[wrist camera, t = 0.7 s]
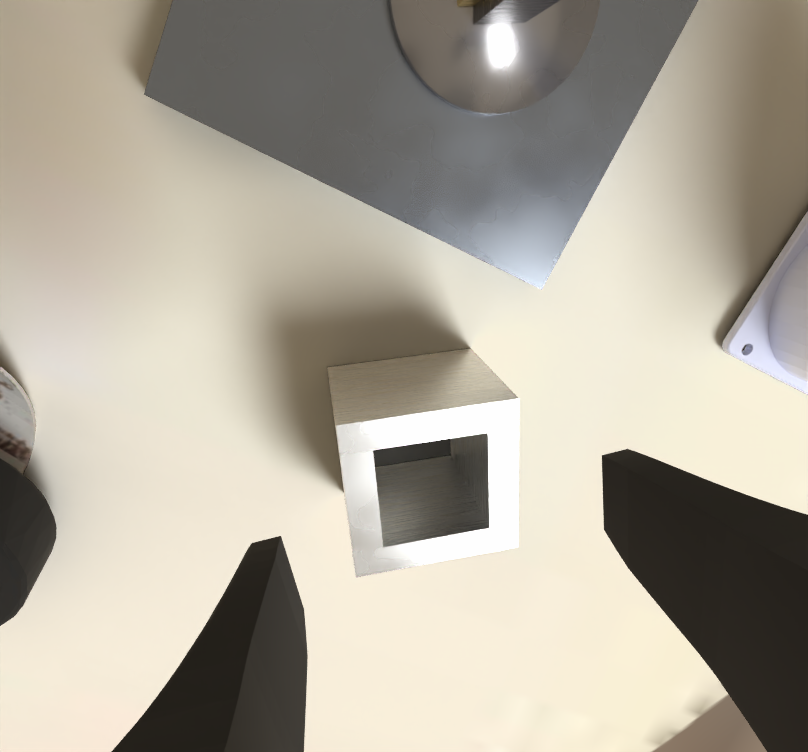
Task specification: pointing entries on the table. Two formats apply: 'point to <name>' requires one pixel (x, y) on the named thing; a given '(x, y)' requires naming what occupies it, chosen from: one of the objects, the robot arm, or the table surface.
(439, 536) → the collar
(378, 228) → the table surface
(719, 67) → the table surface
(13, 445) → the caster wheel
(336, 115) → the plate
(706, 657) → the robot arm
